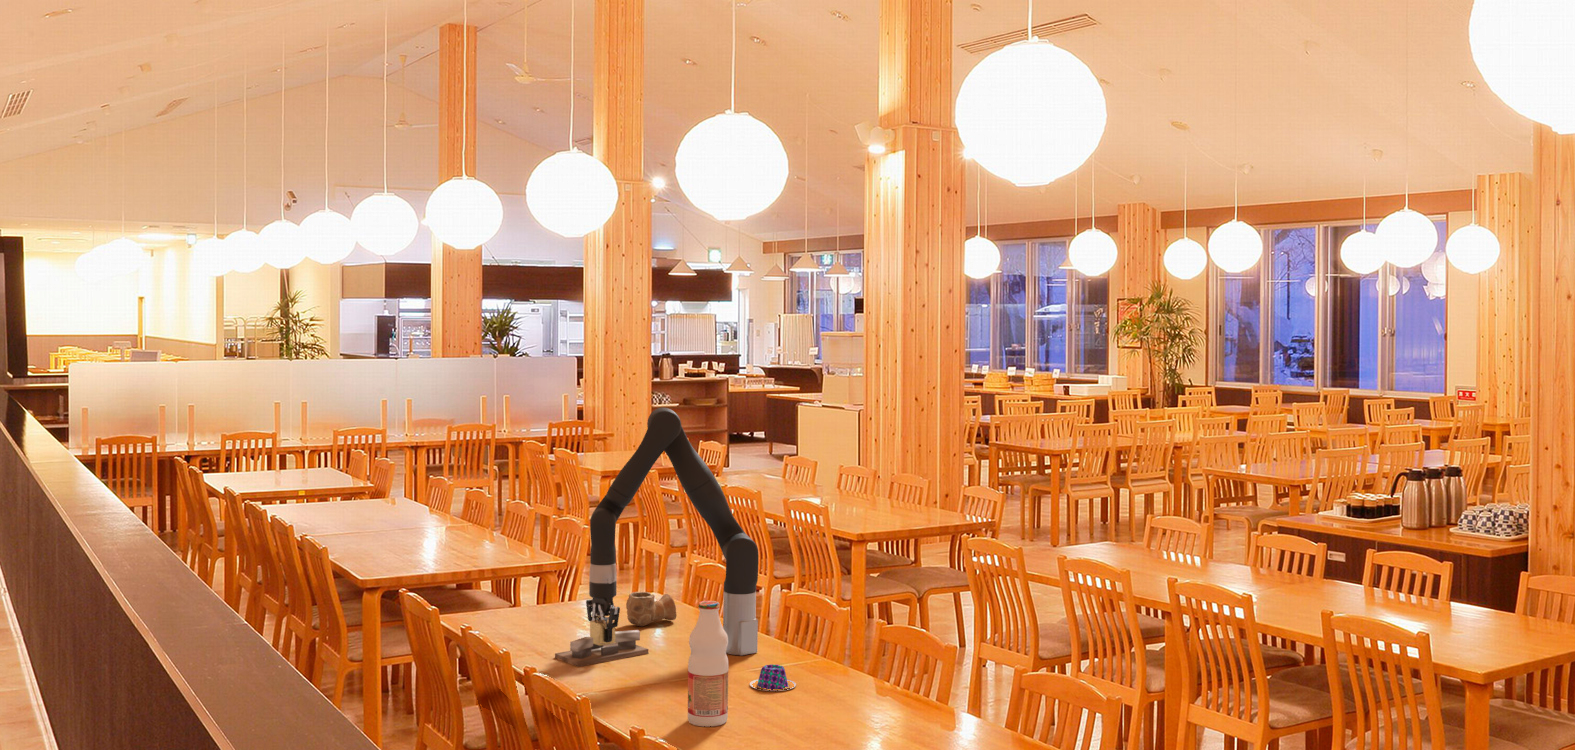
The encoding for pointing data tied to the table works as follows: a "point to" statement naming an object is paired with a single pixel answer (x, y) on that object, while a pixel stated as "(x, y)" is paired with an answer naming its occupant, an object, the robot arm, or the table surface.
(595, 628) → the tan knob block
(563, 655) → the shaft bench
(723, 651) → the fruit juice
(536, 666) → the table surface
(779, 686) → the pudding
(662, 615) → the pipe
